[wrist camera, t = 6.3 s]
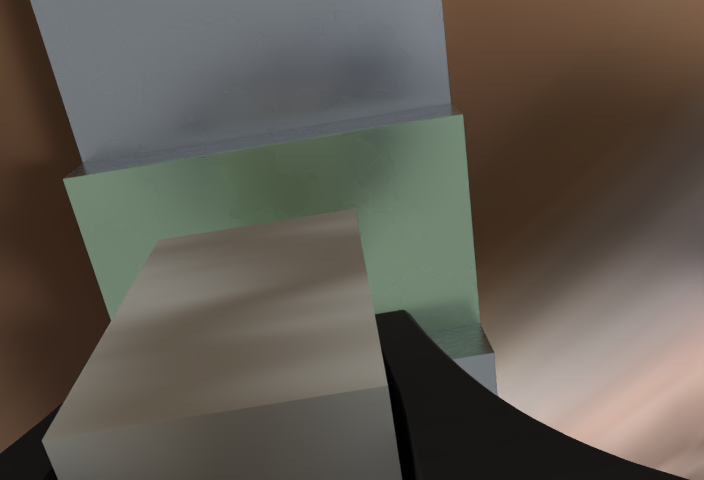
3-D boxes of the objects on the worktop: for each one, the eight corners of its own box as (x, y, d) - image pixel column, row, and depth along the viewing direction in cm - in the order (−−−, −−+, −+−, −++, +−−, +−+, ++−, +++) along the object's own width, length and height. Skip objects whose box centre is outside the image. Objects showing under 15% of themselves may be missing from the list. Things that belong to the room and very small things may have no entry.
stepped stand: (417, -143, 16) (454, -184, 12) (471, 424, 23) (506, 523, 19) (16, -78, 16) (-84, -96, 12) (191, 469, 23) (164, 577, 19)
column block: (354, 208, 13) (388, 385, 7) (380, 373, 14) (424, 623, 9) (158, 240, 13) (41, 440, 7) (205, 402, 14) (137, 668, 9)
